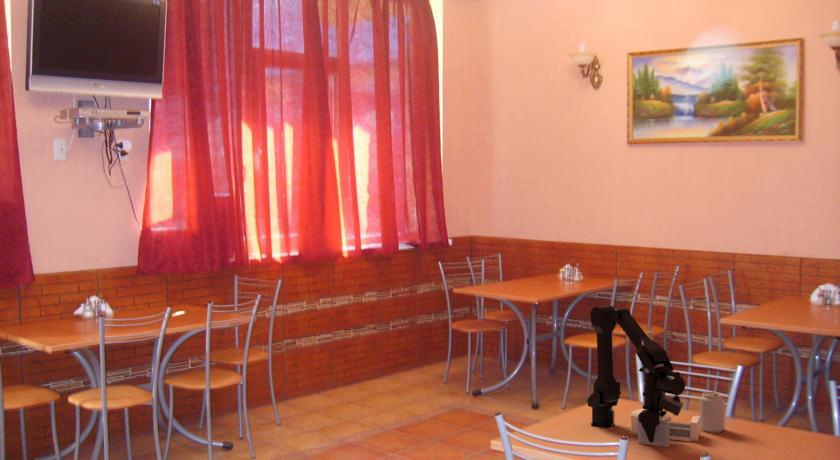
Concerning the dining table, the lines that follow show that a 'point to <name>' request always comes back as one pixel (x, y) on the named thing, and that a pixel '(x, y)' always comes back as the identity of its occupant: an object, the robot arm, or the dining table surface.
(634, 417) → the track
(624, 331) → the robot arm
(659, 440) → the grey rectangular block
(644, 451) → the dining table surface
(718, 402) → the can
